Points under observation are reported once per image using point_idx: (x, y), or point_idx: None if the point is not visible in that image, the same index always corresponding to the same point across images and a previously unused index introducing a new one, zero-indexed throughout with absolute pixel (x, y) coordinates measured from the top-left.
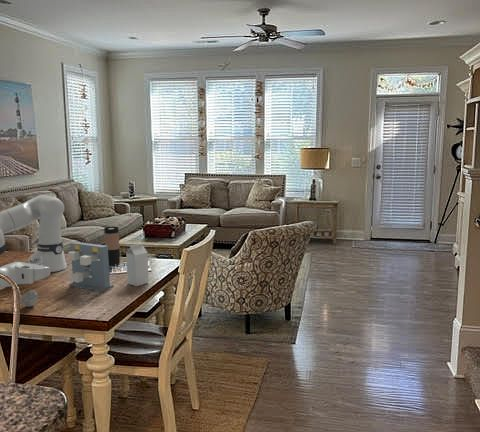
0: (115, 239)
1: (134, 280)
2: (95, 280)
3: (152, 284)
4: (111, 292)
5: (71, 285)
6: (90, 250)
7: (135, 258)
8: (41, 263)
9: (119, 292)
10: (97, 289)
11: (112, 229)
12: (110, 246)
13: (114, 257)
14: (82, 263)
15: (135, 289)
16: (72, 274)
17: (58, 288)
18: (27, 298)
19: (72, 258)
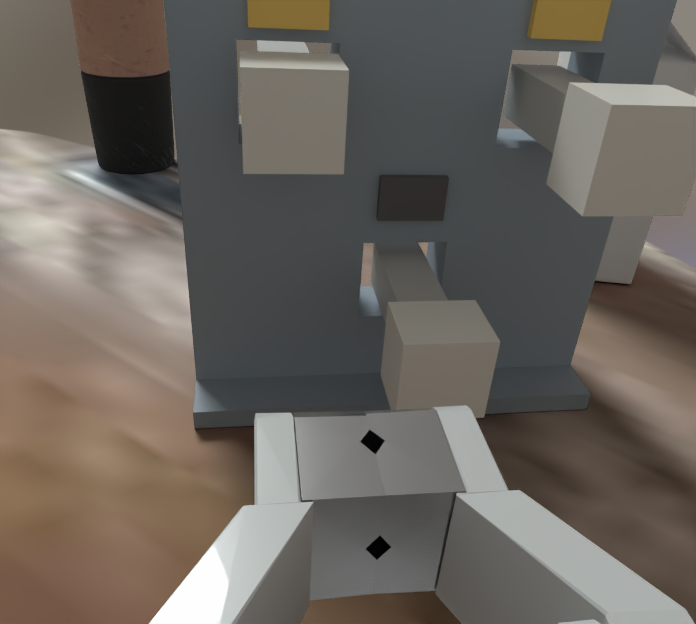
0: (159, 4)
1: (622, 250)
2: None
3: (646, 249)
4: (655, 390)
5: (226, 422)
6: (486, 29)
7: (693, 91)
8: (325, 425)
9: (692, 371)
10: (547, 400)
11: None
12: (138, 52)
13: (162, 123)
14: (628, 196)
15: (686, 311)
16: (413, 350)
17: (152, 516)
18: None
19: (310, 149)
